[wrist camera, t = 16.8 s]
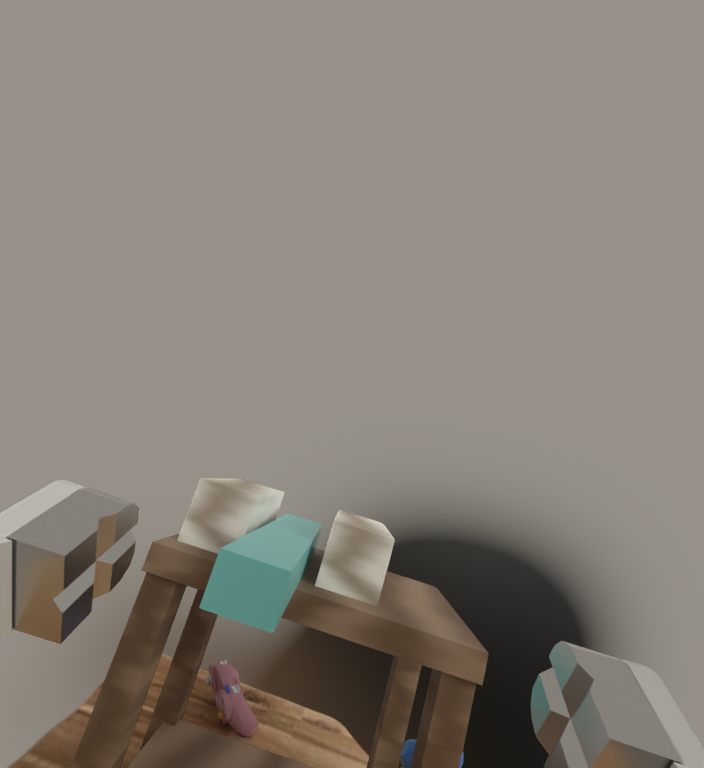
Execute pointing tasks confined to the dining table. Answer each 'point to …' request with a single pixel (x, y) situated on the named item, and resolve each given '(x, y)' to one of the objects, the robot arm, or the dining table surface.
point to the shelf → (307, 606)
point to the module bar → (261, 572)
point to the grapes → (408, 753)
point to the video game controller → (231, 698)
